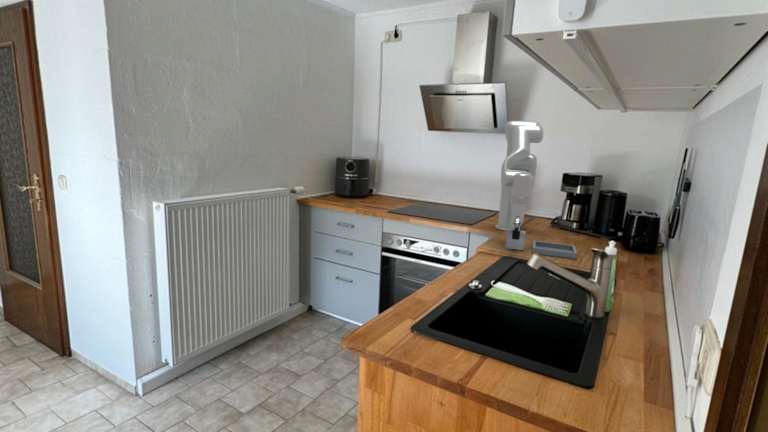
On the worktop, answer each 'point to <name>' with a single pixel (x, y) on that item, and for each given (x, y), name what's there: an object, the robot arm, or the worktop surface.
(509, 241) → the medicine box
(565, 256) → the tray
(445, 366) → the worktop surface
